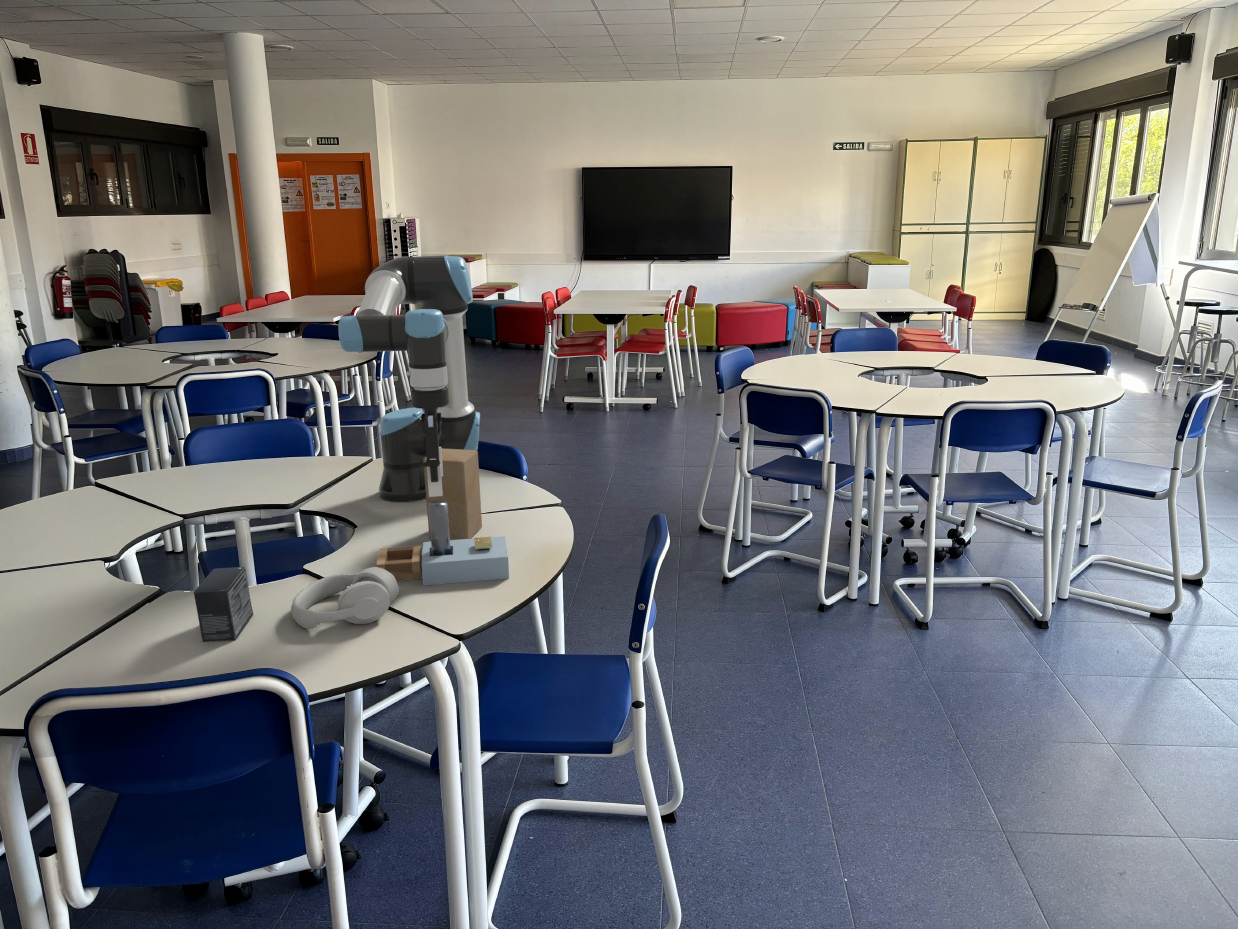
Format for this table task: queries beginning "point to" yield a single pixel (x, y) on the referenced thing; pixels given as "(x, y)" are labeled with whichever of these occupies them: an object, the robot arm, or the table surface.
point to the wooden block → (459, 492)
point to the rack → (401, 562)
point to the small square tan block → (483, 543)
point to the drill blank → (439, 528)
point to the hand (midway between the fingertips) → (436, 485)
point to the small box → (223, 604)
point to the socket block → (465, 562)
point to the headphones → (347, 598)
